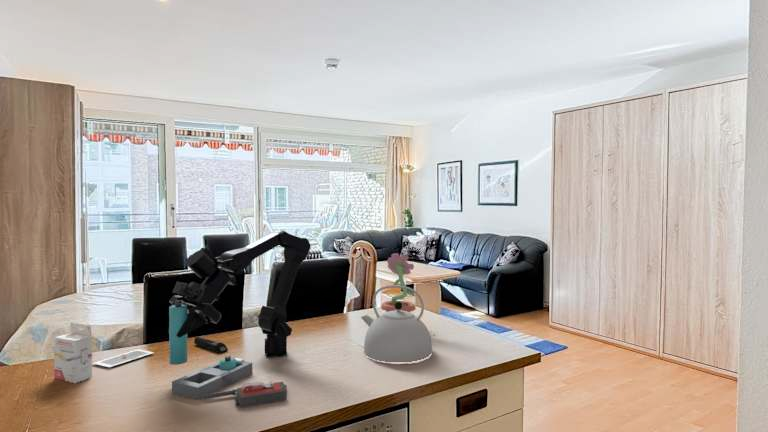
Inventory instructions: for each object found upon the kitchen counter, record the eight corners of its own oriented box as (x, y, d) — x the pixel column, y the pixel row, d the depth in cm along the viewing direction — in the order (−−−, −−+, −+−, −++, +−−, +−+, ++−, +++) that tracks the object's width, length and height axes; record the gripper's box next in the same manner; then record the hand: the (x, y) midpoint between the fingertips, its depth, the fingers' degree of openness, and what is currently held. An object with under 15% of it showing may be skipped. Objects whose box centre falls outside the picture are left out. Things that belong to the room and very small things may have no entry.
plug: (188, 358, 125) (188, 298, 125) (186, 363, 121) (186, 302, 120) (170, 359, 124) (170, 299, 123) (168, 365, 119) (168, 303, 119)
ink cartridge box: (53, 379, 124) (52, 326, 124) (70, 373, 129) (70, 321, 128) (75, 383, 121) (75, 329, 121) (93, 377, 126) (93, 324, 126)
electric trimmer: (201, 343, 159) (201, 334, 159) (228, 351, 150) (228, 342, 150) (191, 346, 156) (191, 337, 156) (218, 354, 147) (218, 345, 147)
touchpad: (92, 366, 135) (92, 359, 135) (137, 352, 149) (137, 345, 149) (109, 371, 132) (109, 363, 132) (154, 355, 146) (154, 349, 146)
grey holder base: (228, 368, 134) (228, 349, 134) (252, 372, 130) (252, 354, 130) (171, 393, 116) (171, 371, 116) (198, 399, 112) (198, 377, 112)
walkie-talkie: (284, 388, 121) (204, 400, 113) (284, 371, 121) (204, 382, 113) (292, 400, 113) (205, 415, 105) (292, 383, 113) (205, 396, 105)
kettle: (345, 357, 145) (346, 287, 144) (373, 339, 166) (374, 277, 165) (420, 369, 135) (421, 294, 135) (440, 347, 156) (441, 282, 156)
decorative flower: (422, 325, 185) (423, 252, 184) (410, 334, 172) (411, 255, 172) (389, 321, 191) (390, 250, 190) (375, 329, 178) (376, 253, 178)
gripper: (175, 267, 131) (135, 312, 122) (210, 273, 119) (168, 324, 110) (201, 290, 137) (164, 334, 128) (237, 299, 125) (199, 348, 117)
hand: (173, 334), depth 121 cm, fingers closed on plug, 4 cm apart
